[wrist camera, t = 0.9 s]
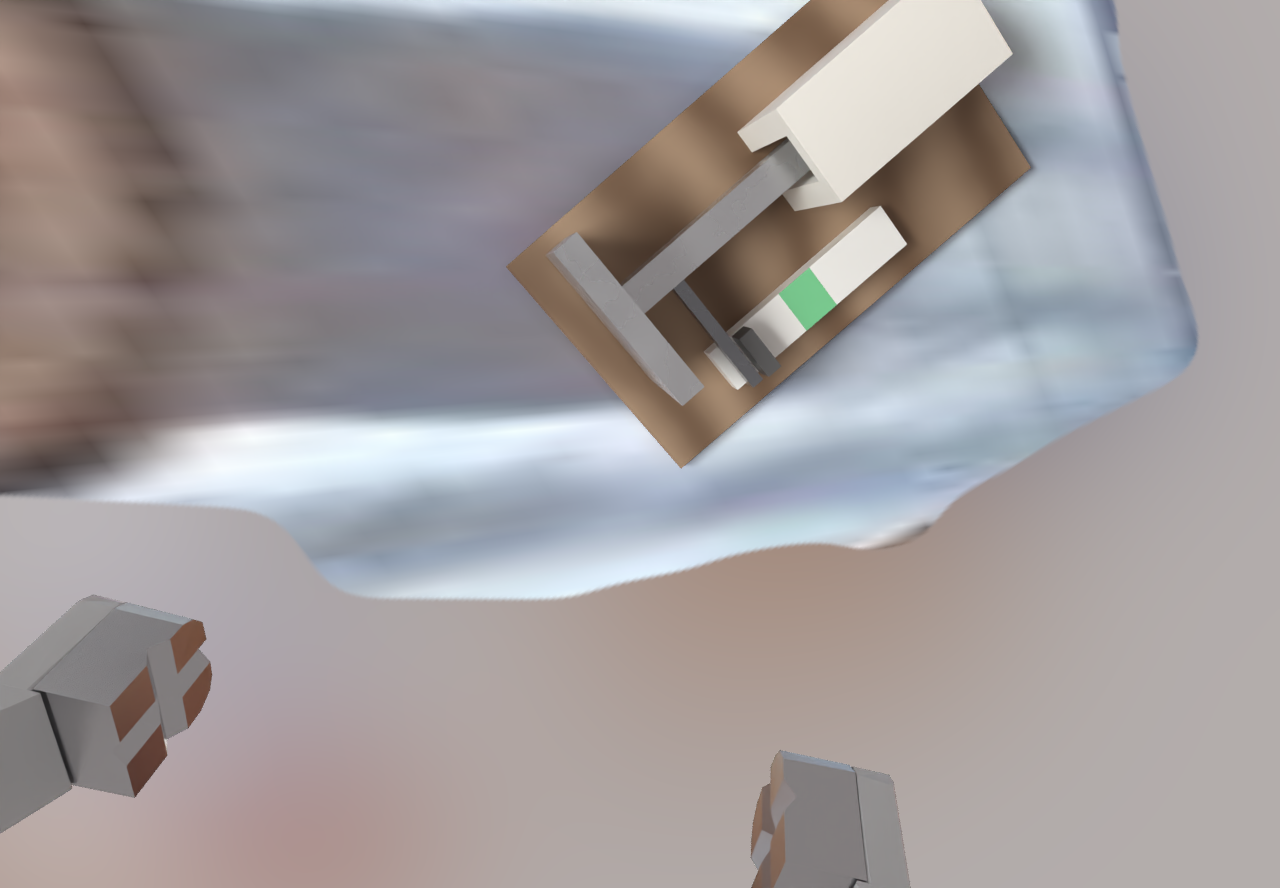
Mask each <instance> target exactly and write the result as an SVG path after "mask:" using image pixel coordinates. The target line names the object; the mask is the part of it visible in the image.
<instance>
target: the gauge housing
mask: <svg viewBox="0 0 1280 888" xmlns="http://www.w3.org/2000/svg"><path fill="white" fill-rule="evenodd" d="M1012 54H1013V53H1012V51H1011V49H1010V48H1009V46H1008V45H1007V43H1006V41H1005V40H1004V38H1003V36H1002V35H1001V33H1000V31H999V30H998V28H997V26H996V25H995V23H994V21H993V20H992V18H991V16H990V15H989V13H988V11H987V10H986V8H985V6H984V5H983V3H982V1H981V0H888V1H887V2H886V3H885V4H884V5H882V6H881V7H880V8H879V9H878V10H877V11H876V12H874V13H873V14H872V15H871V16H870V17H869V18H868V19H866V20H865V21H864V22H863V23H862V24H861V25H860V26H858V27H857V28H856V29H855V30H854V31H853V32H851V33H850V34H849V35H848V36H847V37H846V38H845V39H843V40H842V41H841V42H840V43H839V44H838V45H837V46H835V47H834V48H833V49H832V50H831V51H830V52H829V53H827V54H826V55H825V56H824V57H823V58H822V59H821V60H819V61H818V62H817V63H816V64H815V65H814V66H813V67H811V68H810V69H809V70H808V71H807V72H806V73H804V74H803V75H802V76H801V77H800V78H799V79H798V80H796V81H795V82H794V83H793V84H792V85H791V86H790V87H788V88H787V89H786V90H785V91H784V92H783V93H782V94H780V95H779V96H778V97H777V98H776V99H775V100H774V101H772V102H771V103H770V104H769V105H768V106H767V107H766V108H764V109H763V110H762V111H761V112H760V113H759V114H757V115H756V116H755V117H754V118H753V119H752V120H751V121H749V122H748V123H747V124H746V125H745V126H744V127H743V128H741V129H740V130H739V131H738V132H737V133H738V134H739V135H740V137H741V138H742V140H743V141H744V142H745V144H746V145H747V146H748V148H749V149H750V151H751V152H754V151H756V150H758V149H760V148H762V147H764V146H767V145H769V144H771V143H773V142H775V141H777V140H779V139H781V138H783V137H785V136H787V137H788V139H789V140H790V142H791V143H792V144H793V146H794V147H795V149H796V150H797V151H798V153H799V154H800V156H801V157H802V158H803V160H804V161H805V163H806V164H807V165H808V167H809V168H810V170H809V171H808V172H807V173H806V174H805V175H804V176H802V177H801V178H800V179H799V180H798V181H797V182H796V183H794V184H793V185H792V186H791V187H790V188H789V189H787V190H786V191H785V192H784V193H783V196H784V197H785V199H786V200H787V201H788V203H789V204H790V205H791V207H792V208H793V209H794V211H799V210H804V209H809V208H814V207H819V206H824V205H830V204H835V203H840V202H843V201H844V200H845V199H846V198H847V197H848V196H849V195H851V194H852V193H853V192H854V191H855V190H856V189H858V188H859V187H860V186H861V185H862V184H863V183H864V182H866V181H867V180H868V179H869V178H870V177H871V176H873V175H874V174H875V173H876V172H877V171H878V170H879V169H881V168H882V167H883V166H884V165H885V164H886V163H888V162H889V161H890V160H891V159H892V158H893V157H895V156H896V155H897V154H898V153H899V152H900V151H901V150H903V149H904V148H905V147H906V146H907V145H908V144H910V143H911V142H912V141H913V140H914V139H915V138H916V137H918V136H919V135H920V134H921V133H922V132H923V131H925V130H926V129H927V128H928V127H929V126H930V125H931V124H933V123H934V122H935V121H936V120H937V119H938V118H940V117H941V116H942V115H943V114H944V113H945V112H947V111H948V110H949V109H950V108H951V107H952V106H953V105H955V104H956V103H957V102H958V101H959V100H960V99H962V98H963V97H964V96H965V95H966V94H967V93H968V92H970V91H971V90H972V89H973V88H974V87H975V86H977V85H978V84H979V83H980V82H981V81H982V80H983V79H985V78H986V77H987V76H988V75H989V74H990V73H992V72H993V71H994V70H995V69H996V68H997V67H998V66H1000V65H1001V64H1002V63H1003V62H1004V61H1005V60H1007V59H1008V58H1009V57H1010V56H1011V55H1012Z"/></svg>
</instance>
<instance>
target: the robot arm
mask: <svg viewBox="0 0 1280 888" xmlns="http://www.w3.org/2000/svg"><path fill="white" fill-rule="evenodd" d="M205 640H206V635H205V631H204V627H203V623H202V622H201V621H197V620H194V619H190V618H186V617H182V616H178V615H174V614H170V613H166V612H162V611H158V610H155V609H150V608H146V607H143V606H139V605H135V604H131V603H127V602H122V601H118V600H113V599H109V598H105V597H101V596H97V595H91V596H89V597H86V598H84V599H81V600H79V601H78V602H77V603H76V604H75V605H73V606H72V607H71V608H70V609H69V610H68V611H67V612H66V613H65V614H64V615H62V616H61V618H59V619H58V620H57V621H56V622H55V623H54V624H53V625H51V626H50V627H49V628H48V629H47V630H46V631H45V632H44V633H43V634H42V635H40V636H39V637H38V638H37V639H36V640H35V641H34V642H33V643H32V644H31V645H29V646H28V647H27V648H26V649H25V650H24V651H23V652H22V653H21V654H20V655H18V656H17V657H16V658H15V659H14V660H13V661H12V662H11V663H10V664H9V665H7V666H6V667H5V668H4V669H3V670H2V671H1V672H0V833H2V832H4V831H5V830H7V829H8V828H10V827H11V826H13V825H15V824H16V823H18V822H20V821H21V820H23V819H24V818H26V817H28V816H29V815H31V814H32V813H34V812H36V811H37V810H39V809H40V808H42V807H44V806H45V805H47V804H49V803H50V802H52V801H53V800H55V799H57V798H58V797H60V796H62V795H63V794H65V793H66V792H68V791H70V790H71V789H72V785H75V786H80V787H85V788H90V789H94V790H100V791H104V792H109V793H114V794H119V795H124V796H129V797H134V798H135V797H136V796H137V794H138V793H139V792H140V790H141V789H142V788H143V787H144V785H145V784H146V783H147V781H148V780H149V779H150V777H151V776H152V775H153V773H154V772H155V771H156V770H157V768H158V767H159V766H160V764H161V763H162V762H163V761H164V759H165V758H166V757H167V739H169V738H170V737H172V736H174V735H176V734H178V733H180V732H182V731H184V730H186V729H188V728H189V726H190V725H191V724H192V722H193V721H194V720H195V718H196V717H197V716H198V714H199V713H200V711H201V709H202V707H203V705H204V703H205V700H206V698H207V696H208V693H209V691H210V686H211V679H212V671H211V664H210V661H209V660H208V659H207V658H206V657H205V655H204V654H202V652H201V651H200V650H199V648H200V646H201V645H202V644H203V643H204V641H205ZM770 778H771V780H770V784H768V785H766V786H764V787H762V790H761V793H760V796H759V799H758V801H757V805H756V810H755V815H754V820H753V826H752V838H751V859H752V861H753V862H754V864H755V865H756V868H757V869H758V873H757V875H756V877H755V880H754V882H753V884H752V887H751V888H911V887H910V881H909V875H908V869H907V863H906V857H905V851H904V844H903V838H902V831H901V825H900V819H899V813H898V806H897V800H896V794H895V788H894V782H893V780H892V779H891V777H890V775H887V774H884V773H879V772H875V771H870V770H866V769H861V768H857V767H850V765H847V764H843V763H838V762H833V761H828V760H823V759H819V758H814V757H809V756H805V755H800V754H795V753H790V752H786V751H781V750H780V751H779V752H778V753H777V754H776V755H775V757H774V760H773V762H772V764H771V773H770Z"/></svg>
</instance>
